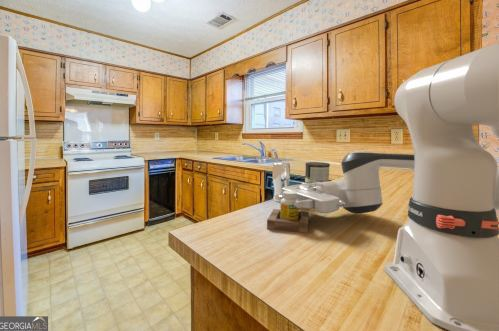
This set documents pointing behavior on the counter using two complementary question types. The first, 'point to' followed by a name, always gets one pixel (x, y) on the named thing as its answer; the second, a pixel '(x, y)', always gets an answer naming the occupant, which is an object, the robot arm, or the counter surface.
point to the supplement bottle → (289, 206)
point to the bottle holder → (288, 222)
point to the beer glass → (280, 178)
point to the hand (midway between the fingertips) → (286, 201)
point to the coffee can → (317, 172)
